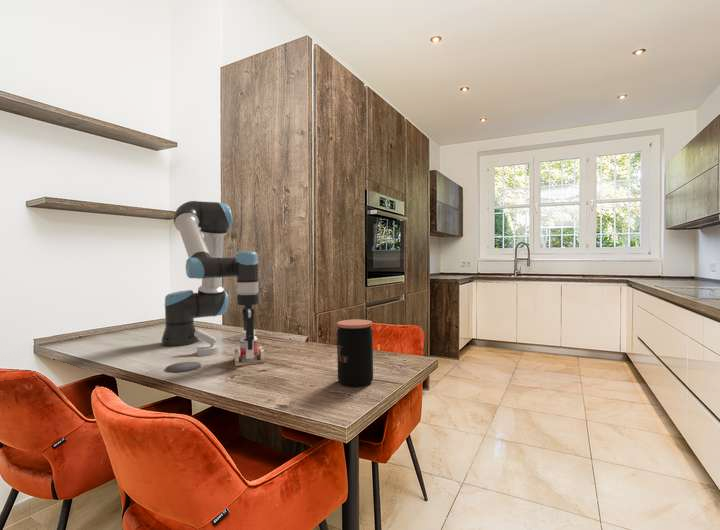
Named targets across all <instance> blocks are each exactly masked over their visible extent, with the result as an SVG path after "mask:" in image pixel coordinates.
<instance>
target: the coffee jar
mask: <svg viewBox="0 0 720 530" xmlns="http://www.w3.org/2000/svg"><path fill="white" fill-rule="evenodd" d="M336 326H337V327H338V329H337V330H336V352H337V355H336V356H337V379H338V382H339V383H340V385H342V386H345V387H350V388H362V387H365V386H369V385H370V384H372V381H373V380H374V351H373V349H374V347H373V343H374V342H373V329H372V326H373V321H372V320H368V319H358V318H357V319H356V318H355V319H345V320H344V319H343V320H340V321H337V322H336Z"/></svg>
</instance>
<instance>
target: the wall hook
mask: <svg viewBox="0 0 720 530" xmlns="http://www.w3.org/2000/svg"><path fill="white" fill-rule="evenodd" d="M194 336H196V337H198V339H200V340H202V341H204V342H205V343H208V344H203V345H199V346H197V347H196V355H197V356H200V357H201V356H202V357H203V356H206V357H207V356H213V355H218V354H220V352H221V345H219V344H216V343H217V338H216V337H215V336H213V335H212V334H209V333H207V332H205V331H203V330H201V329H199V328H197V329H196V331H195V333H194Z"/></svg>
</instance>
